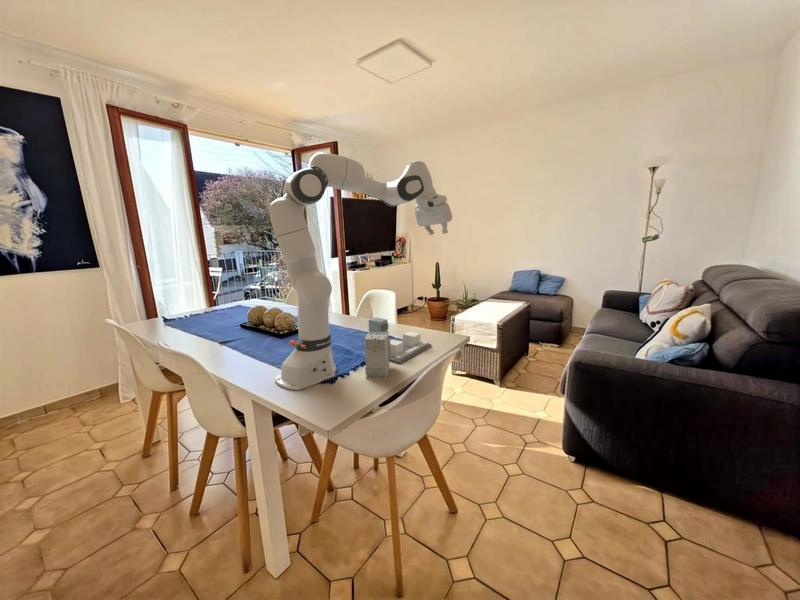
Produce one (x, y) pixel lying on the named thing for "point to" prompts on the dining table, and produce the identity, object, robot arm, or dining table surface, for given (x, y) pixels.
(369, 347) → the circuit breaker
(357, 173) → the robot arm
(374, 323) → the block
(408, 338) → the rail plate
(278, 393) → the dining table surface
